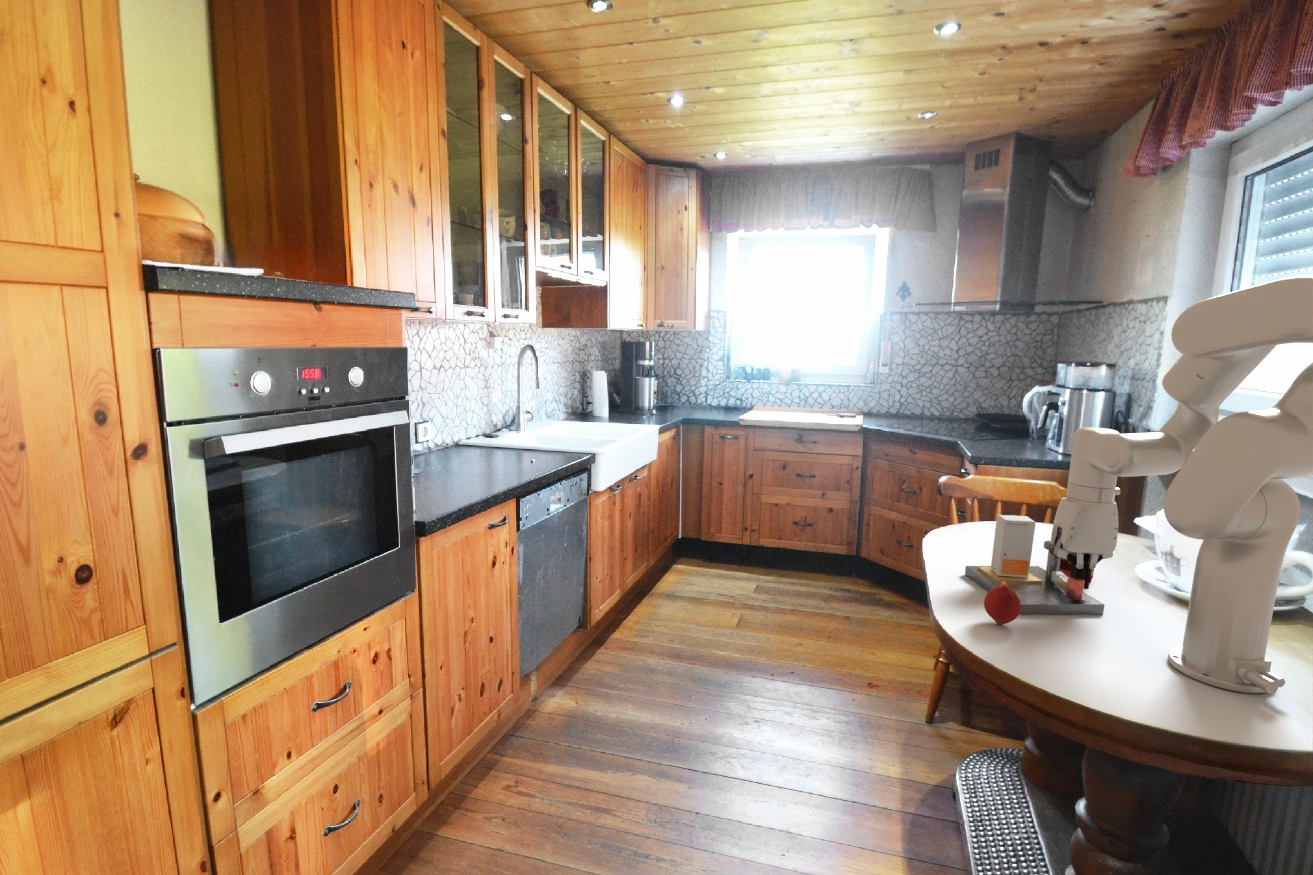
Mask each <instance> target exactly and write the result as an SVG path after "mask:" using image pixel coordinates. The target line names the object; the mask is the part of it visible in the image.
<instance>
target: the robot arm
mask: <svg viewBox="0 0 1313 875" xmlns="http://www.w3.org/2000/svg"><path fill="white" fill-rule="evenodd" d="M1170 335H1171V342H1172V343H1173V346H1174V348H1175V349H1176V350H1177V351H1178V352H1179V353H1180V354H1181V356H1180V357H1179V358H1178V359H1177V361H1176V362H1175V363H1174V364H1173V366H1172V367H1171V368H1170V369H1169V370H1168V371H1167V372H1166V373H1165V375H1164V376H1163V377H1162V381H1161V382H1162V384H1161V385H1162V388H1163V390H1164V391H1165V393H1167V395H1168V396H1169V397H1171V398H1172V400H1175V401H1176V402H1177V403H1178V404H1177V407H1176V409H1175V411H1174V413H1173V414H1172V415H1171V417H1170V418H1169V419H1168V420H1167V421H1166V422H1165V424H1164V425H1163V426H1162V427H1161V428H1160V429H1159V430H1158V431H1157V432H1133V433H1120V432H1119V430H1115V429H1112V428H1107V427H1105V428H1104V427H1098V426H1097V427H1094V426H1088V427H1086V426H1085V427H1080V428H1078V429H1076V431H1075V432H1074V433H1073V436H1072V437H1073V438H1072V448H1071V454H1070V462H1069V472H1068V480H1067V486H1066V487H1067V488H1066V496H1065V497H1061V499H1060V501H1059V502H1058V503H1059V504H1058V506H1057V509H1056V513H1055V516H1054V520H1053V524H1052V531H1051V534H1050V541H1051V543H1052V545H1054V546H1055V549H1054V552H1053V554H1054V555H1056V556H1058V557H1061V558H1064V559H1066V560H1067V561H1068V563H1069V564H1071V571H1070V577H1078V578H1082V579H1084V580H1085V583H1084V590H1089V588H1090V583H1091V581H1090V579H1091V571H1092V569H1094V570H1095V568H1096V567H1097V564H1099V562H1101V561H1102V560H1108V559H1111V558H1113V556H1114V554H1113V552H1114V551H1115V550H1116V547H1117V545H1118V544H1117V542H1118V536H1119V512H1118V511H1119V509H1118V504H1117V502H1116V501H1115V499H1116V498H1115V497H1116V496H1119V495H1121V488H1119V487H1117V480H1118V477H1120V478H1122V477H1123V478H1124V477H1125V478H1126V477H1127V478H1130V477H1132V478H1133V477H1143V476H1146V477H1147V476H1164V475H1170V474H1174V473H1176V472H1177V474H1176V475H1175V476H1174V478H1173V480H1172V481H1171V482H1170V485H1169V486H1168V488H1167V490H1166V493H1165V496H1164V499H1163V512H1164V516H1165V518H1166V521H1167V522H1168V524H1169V525H1170V526H1171V528H1172V529H1173V530H1175V531H1176V532H1177V533H1179V534H1180V535H1183V536H1185V537H1187V538H1189V539H1190V538H1191V539H1196V540H1202V542H1201V544H1200V546H1199V550H1198V552H1197V555H1196V560H1195V565H1194V571H1193V578H1192V584H1191V592H1190V596H1189V603H1188V610H1187V617H1186V622H1185V626H1184V627H1185V628H1184V636H1183V639H1182V640H1183V641H1182V645H1181V646H1176V647H1173V648H1171V649H1170V650H1168V656H1167V661H1168V662H1169V664H1171V666H1172V667H1173V668H1175V669H1176V670H1177V671H1179V672H1181V673H1182V674H1184V675H1186V676H1188V677H1189V678H1192V679H1194V680H1197V681H1199V682H1202V683H1204V684H1208V685H1210V686H1213V687H1216V688H1219V689H1220V688H1221V689H1224V690H1229V691H1234V692H1239V693H1245V694H1264V693H1268V694H1274V693H1276V692H1277V691H1278V689H1279V688H1282V687H1284V686H1285V684H1286V680H1285V679H1284V678H1282V677H1281V676H1279V675H1277V674H1274V673H1272V672H1271V667H1272V662H1273V661H1272V660H1271V659H1269V658H1267V657H1266V654H1267V653H1266V652H1267V648H1268V642H1269V636H1270V631H1271V630H1270V629H1271V625H1272V620H1273V614H1274V607H1275V603H1276V598H1277V593H1278V587H1279V583H1280V578H1281V571H1282V568H1283V563H1284V559H1285V556H1286V552H1287V550H1288V547H1289V545H1290V542H1291V539H1292V537H1293V535H1294V533H1295V531H1296V528H1297V526H1298V523H1299V520H1300V515H1301V504H1300V503H1301V502H1300V499H1299V497H1298V495H1297V493H1296V491H1295V490H1294V488H1293V487H1292V486H1291V485H1290V484H1288V482H1286V481H1284V480H1283V479H1285V480H1286V479H1299V478H1307V477H1311V476H1313V362H1312V363H1310V364H1309V365H1308V366H1306V367H1305V368H1304V370H1302V371H1301V372H1299V373H1300V374H1298V375H1297V377H1295V379H1294V380H1293V382H1292V383H1291V385H1290V387H1289V388H1287V389H1288V390H1286V392H1285V393H1284V394H1283V396H1282V397H1281V398H1280V399H1279V400H1278V402H1276V403H1275V404H1274V406H1273V407H1271V408H1269V409H1265V410H1248V411H1239V412H1236V413H1232V414H1229V415H1228V416H1226V417H1223V418H1221V419H1219V416H1220V410H1219V409H1220V406H1221V405H1222V404H1223V403H1224V401H1225V400H1226V399H1227V398H1228V397H1230V395H1231V394H1232V393H1233V391H1235V390H1236V389H1237V388H1238V387H1239V386H1240V384H1242V382H1243V381H1244V380H1245V379H1246V378H1247V377H1248V376H1249V375H1250V374H1251V373H1252V372H1253V371H1254V370H1255V369H1256V367H1258V366H1259V364H1260V363H1261V362H1262V361H1263V360H1264V359H1266V358H1267V356H1268V355H1269V354H1270V353H1271V352H1272V351H1273V349H1275V348H1276V346H1279V345H1284V344H1293V343H1294V344H1296V343H1298V344H1299V343H1301V344H1302V343H1304V344H1313V275H1297V276H1289V277H1283V278H1279V279H1277V280H1276V279H1275V280H1271V281H1268V282H1263V283H1262V284H1261V283H1260V284H1257V285H1253V286H1250V287H1247V288H1243V289H1238V290H1235V291H1231V292H1228V293H1224V294H1220V295H1217V296H1213V297H1210V298H1207V299H1203V300H1200V301H1198V302H1196V303H1194V304H1192V305H1191V306H1189V307H1187V308H1186V309H1185V310H1183V312H1182V313H1180V314H1179V316H1178V317H1177V318H1176V320H1175V322H1174V324H1173V326H1172V329H1171V334H1170Z"/></svg>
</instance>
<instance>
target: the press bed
mask: <svg viewBox="0 0 1313 875" xmlns="http://www.w3.org/2000/svg"><path fill="white" fill-rule="evenodd" d="M1043 549H1045V550H1047V551H1048V553H1047V559H1046V569H1044V568H1042V567H1041V566H1038V565H1030V568H1029V575H1028V578H1022V577H1010V576H998V575H997V574H996V573H995V572H994V571H993V570H992V569H991V565H965V570H964V576H966V577H967V578H968V579H970V580H971V581H973V582H974V583H975V584H976V585H978V586H979V587H981V588H982V589H983V590H985V591H986V590H987V591H986V592H987V593H988V592H989V591H990V590H991V589H993V588H995V587H997V586H1000V582H1002V581H1003V582H1005V583H1006V584H1007V585H1008V586H1009V587H1010V588H1011V589H1012V590H1013V591H1014V592H1015V593H1016V595H1017V596H1018V598H1019V600H1020V603H1021V612H1020V615H1019V616H1022V615H1023V616H1025V615H1027V616H1030V615H1032V616H1034V615H1035V614H1036V615H1037V614H1038V615H1039V614H1043V615H1042V616H1044V615H1047V616H1049V615H1051V616H1052V615H1054V616H1055V615H1058V616H1059V615H1062V616H1063V615H1064V616H1066V615H1070V616H1071V615H1073V616H1076V615H1077V616H1078V615H1083V616H1084V615H1104V612H1105V603H1104V602H1103V603H1102V602H1101V601H1099V600H1097V599H1096V598H1095V597H1093V596H1092V595H1089V594H1087V593H1086V592H1084V591H1083V599H1082V600H1075V599H1071V598H1068V597H1067V596H1066V593H1065V592H1064V591H1063V590H1062V589H1060V588H1059V587H1058V586H1057V585H1056V584H1055V583H1054V582H1053V581H1051V577H1052V571H1059V567H1060V559H1061V557H1058V556H1056V555H1054V554H1053V552H1054V549H1055V546H1054V545H1052V543H1051V540H1045V541H1044V543H1043ZM1038 615H1037V616H1038Z"/></svg>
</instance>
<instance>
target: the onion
mask: <svg viewBox="0 0 1313 875" xmlns="http://www.w3.org/2000/svg"><path fill="white" fill-rule="evenodd" d="M983 607H984V610H985V612H986V613H987V614H988V616H989V617H990V618H991V619H992V620H993V621H994V623H995V624H997V625H999V626H1002V625H1006V624H1009V623H1012V622H1013V621H1015V620H1016V619H1017V618H1018V617H1019V616H1020V615H1019V614H1020V612H1021V603H1020V600H1019V598H1018V596H1017V595H1016V593H1015V592H1014V591H1013V590H1012V589H1011V588H1010V587H1009V586H1008V585H1007V584H1006V583H1005V582H1003V581H1002V582H1000V586H997V587H995V588H993V589H991V590H990V591H989V592H988V591H987V593H986V595H985V597H984V599H983Z"/></svg>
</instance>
